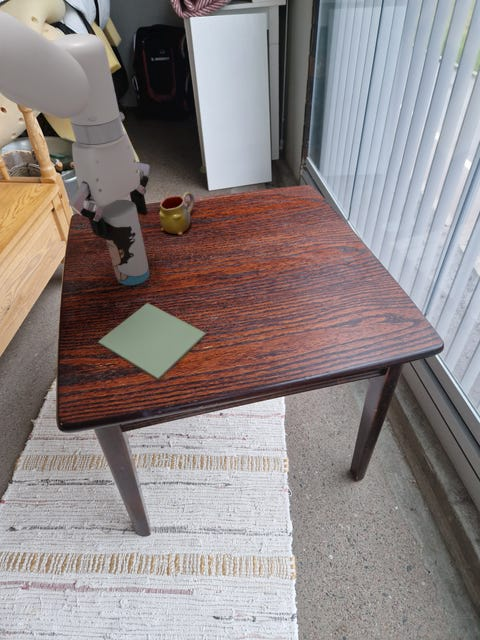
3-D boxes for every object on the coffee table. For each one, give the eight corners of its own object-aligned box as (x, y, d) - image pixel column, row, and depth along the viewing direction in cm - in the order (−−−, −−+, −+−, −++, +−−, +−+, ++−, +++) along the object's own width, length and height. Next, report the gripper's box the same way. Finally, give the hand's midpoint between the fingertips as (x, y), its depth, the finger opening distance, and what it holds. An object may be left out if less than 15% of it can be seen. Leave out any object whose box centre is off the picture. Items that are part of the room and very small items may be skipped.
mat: (158, 380, 66) (158, 378, 66) (98, 343, 72) (97, 341, 72) (206, 335, 73) (205, 332, 73) (147, 305, 79) (147, 302, 79)
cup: (131, 261, 89) (115, 196, 79) (156, 270, 87) (143, 204, 76) (109, 279, 85) (89, 212, 75) (135, 289, 83) (118, 221, 72)
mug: (179, 238, 95) (176, 212, 91) (155, 231, 98) (150, 205, 93) (207, 214, 103) (205, 188, 98) (184, 208, 105) (181, 182, 101)
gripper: (122, 109, 72) (140, 199, 84) (36, 143, 63) (71, 240, 75) (153, 117, 69) (168, 210, 81) (68, 154, 59) (100, 254, 71)
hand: (122, 224), depth 78 cm, fingers open, 9 cm apart
